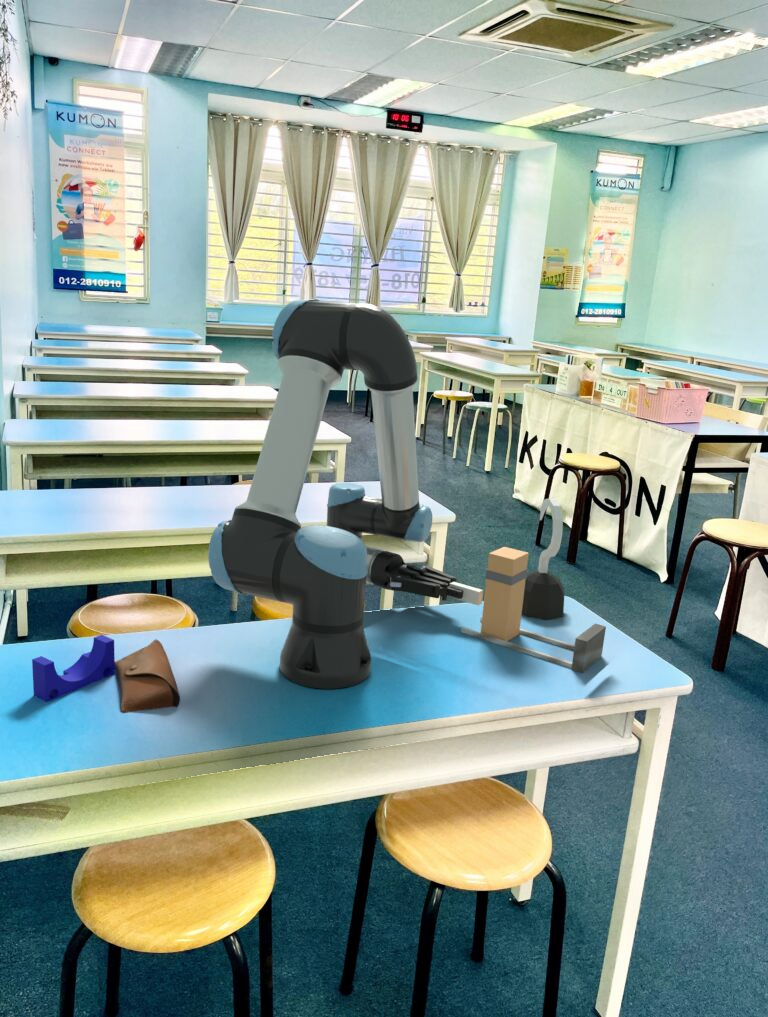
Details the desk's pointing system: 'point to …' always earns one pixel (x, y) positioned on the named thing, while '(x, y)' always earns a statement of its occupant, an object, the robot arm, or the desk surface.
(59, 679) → the purple cradle bracket
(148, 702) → the sunglasses case
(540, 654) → the track
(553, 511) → the hook
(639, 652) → the desk surface
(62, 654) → the desk surface
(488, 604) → the tan box with band
